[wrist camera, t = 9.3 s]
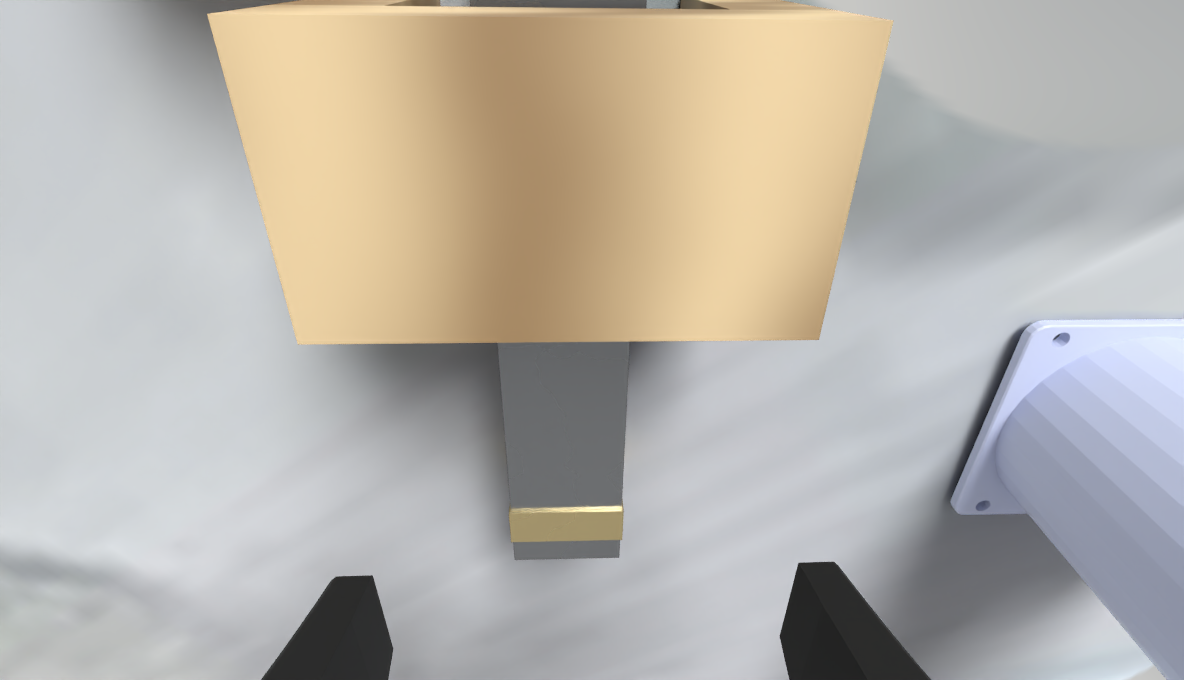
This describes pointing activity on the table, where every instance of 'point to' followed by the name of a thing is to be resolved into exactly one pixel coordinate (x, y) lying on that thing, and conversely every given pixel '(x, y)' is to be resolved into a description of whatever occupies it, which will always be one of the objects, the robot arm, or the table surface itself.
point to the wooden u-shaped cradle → (552, 165)
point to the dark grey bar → (564, 424)
